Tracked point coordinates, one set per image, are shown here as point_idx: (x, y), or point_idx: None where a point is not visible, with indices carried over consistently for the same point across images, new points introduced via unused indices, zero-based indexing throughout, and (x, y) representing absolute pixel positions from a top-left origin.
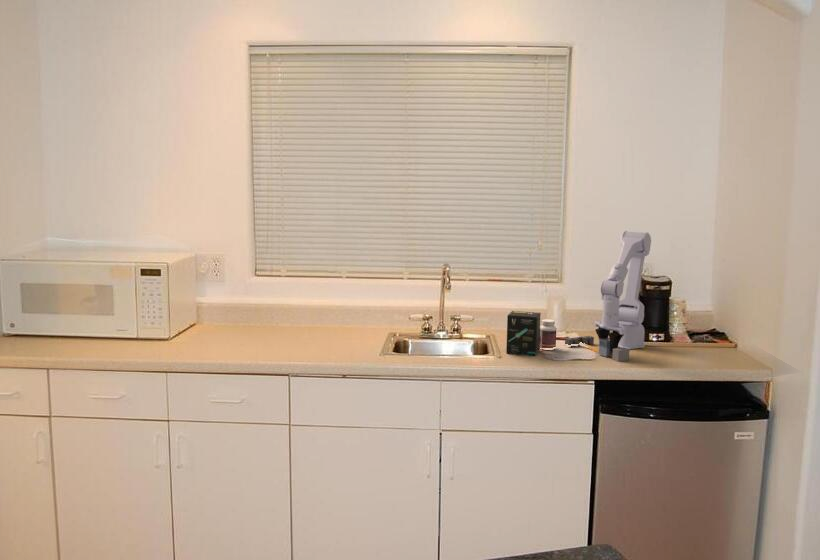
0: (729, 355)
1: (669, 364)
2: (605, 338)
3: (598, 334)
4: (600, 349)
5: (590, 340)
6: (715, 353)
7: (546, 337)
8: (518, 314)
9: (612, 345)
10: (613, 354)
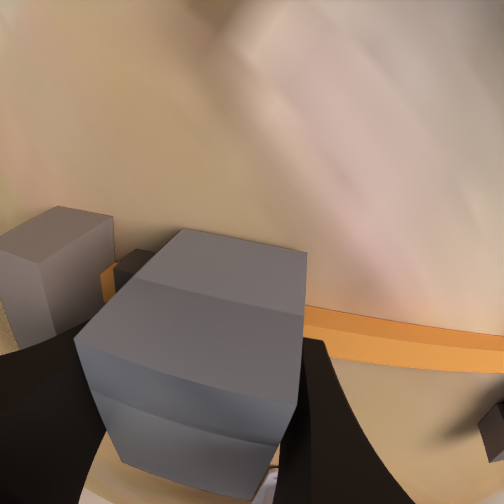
0: (97, 488)
1: None
2: (256, 465)
3: (366, 497)
4: (274, 278)
5: (501, 430)
6: (117, 495)
7: None
8: None
9: (74, 332)
10: (70, 234)
